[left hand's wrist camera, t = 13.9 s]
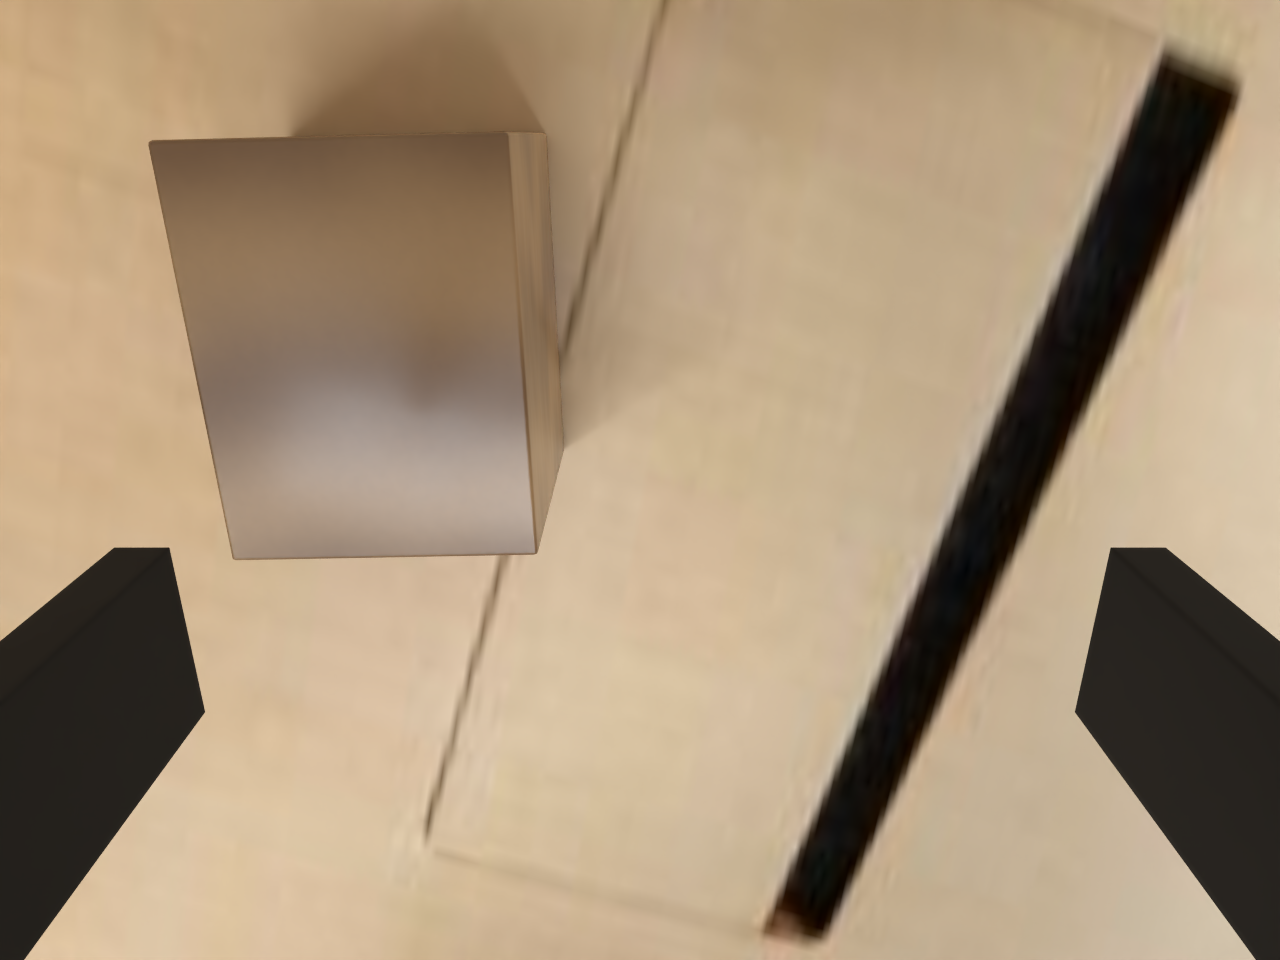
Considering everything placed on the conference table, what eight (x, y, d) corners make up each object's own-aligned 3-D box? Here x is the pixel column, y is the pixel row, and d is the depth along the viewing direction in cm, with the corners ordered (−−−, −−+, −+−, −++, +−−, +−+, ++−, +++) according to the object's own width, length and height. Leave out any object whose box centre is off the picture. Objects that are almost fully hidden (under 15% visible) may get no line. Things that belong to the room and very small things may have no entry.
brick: (285, 138, 25) (145, 140, 18) (546, 132, 24) (507, 131, 18) (334, 456, 28) (232, 561, 21) (564, 451, 28) (537, 556, 21)
